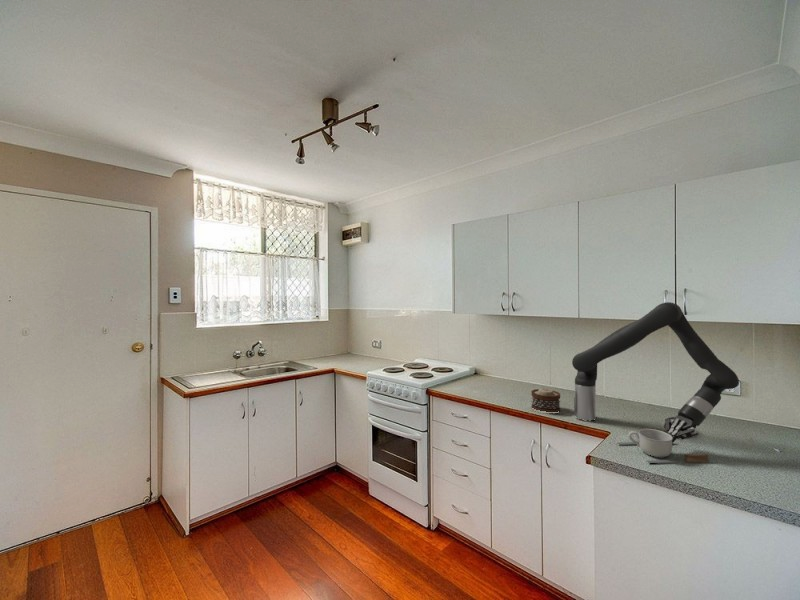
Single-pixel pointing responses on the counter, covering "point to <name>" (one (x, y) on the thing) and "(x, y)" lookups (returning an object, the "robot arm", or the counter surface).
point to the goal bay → (651, 460)
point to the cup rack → (696, 458)
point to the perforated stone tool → (665, 423)
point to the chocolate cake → (545, 400)
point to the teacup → (653, 442)
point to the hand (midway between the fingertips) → (666, 442)
